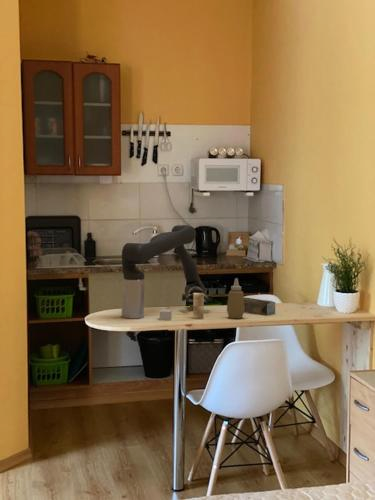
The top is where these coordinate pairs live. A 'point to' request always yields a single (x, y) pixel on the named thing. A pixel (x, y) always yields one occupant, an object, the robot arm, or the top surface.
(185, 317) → the top surface
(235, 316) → the squeeze bottle
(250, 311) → the beverage carton
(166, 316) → the grey block
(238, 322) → the top surface
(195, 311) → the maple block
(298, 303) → the top surface
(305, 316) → the top surface
